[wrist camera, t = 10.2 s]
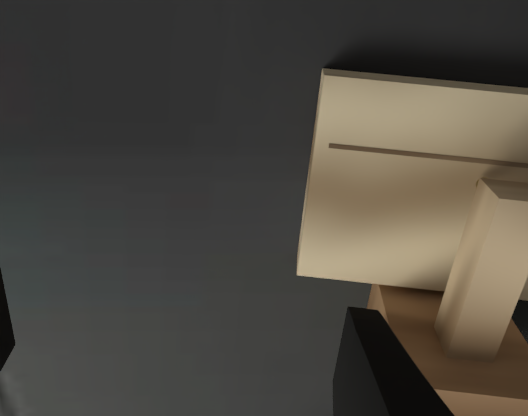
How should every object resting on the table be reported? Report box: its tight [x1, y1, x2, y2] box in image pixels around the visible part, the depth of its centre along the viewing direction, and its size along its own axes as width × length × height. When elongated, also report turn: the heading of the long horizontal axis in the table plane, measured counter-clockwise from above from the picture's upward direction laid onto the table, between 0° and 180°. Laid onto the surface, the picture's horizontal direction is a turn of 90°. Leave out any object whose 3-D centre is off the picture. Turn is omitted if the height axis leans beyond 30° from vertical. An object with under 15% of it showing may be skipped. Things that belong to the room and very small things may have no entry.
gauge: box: [367, 177, 528, 416], centre depth 17 cm, size 12×5×7 cm, turn 175°
